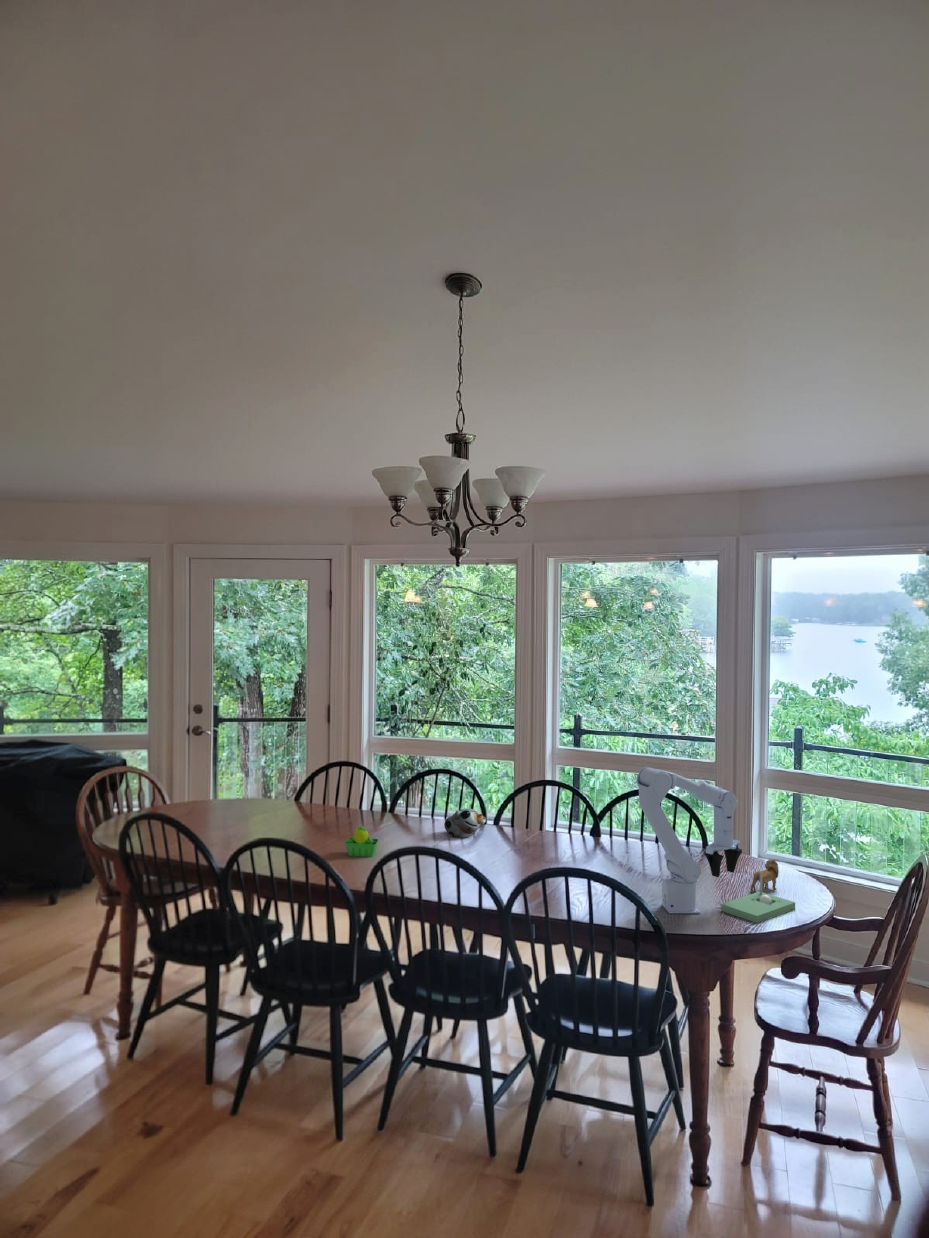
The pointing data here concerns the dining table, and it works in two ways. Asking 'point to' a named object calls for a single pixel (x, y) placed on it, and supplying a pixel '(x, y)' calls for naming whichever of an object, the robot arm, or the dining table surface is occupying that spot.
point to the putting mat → (757, 905)
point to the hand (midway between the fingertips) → (723, 873)
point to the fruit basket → (361, 844)
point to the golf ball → (765, 899)
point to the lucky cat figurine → (464, 823)
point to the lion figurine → (771, 875)
